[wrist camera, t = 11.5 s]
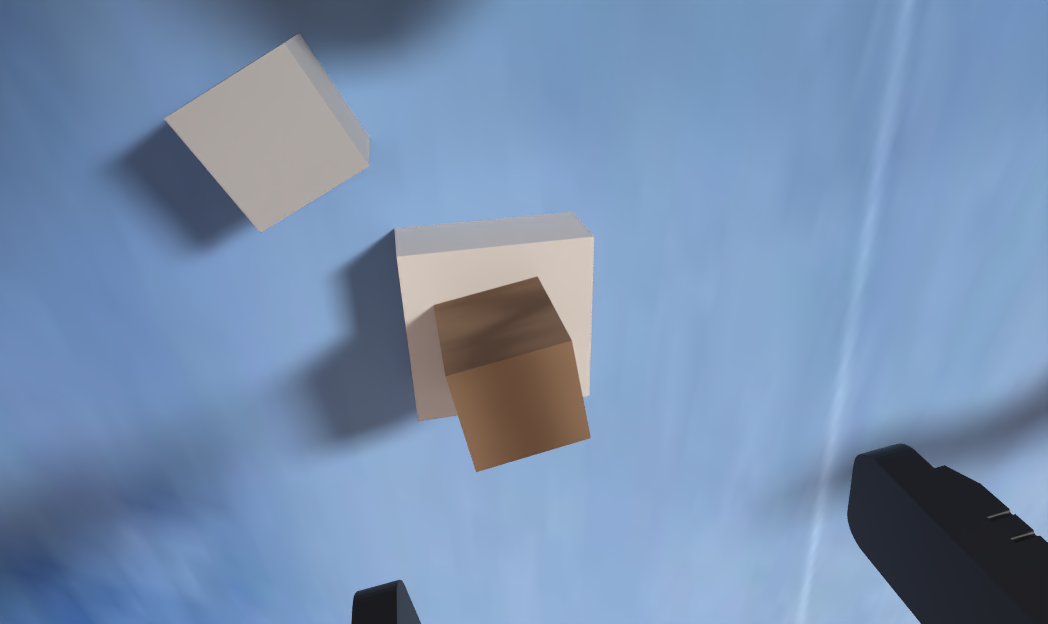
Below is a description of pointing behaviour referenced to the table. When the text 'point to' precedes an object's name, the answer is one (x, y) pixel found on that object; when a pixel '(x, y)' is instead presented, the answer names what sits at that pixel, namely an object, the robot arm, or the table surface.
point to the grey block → (275, 134)
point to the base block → (490, 285)
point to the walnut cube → (511, 373)
